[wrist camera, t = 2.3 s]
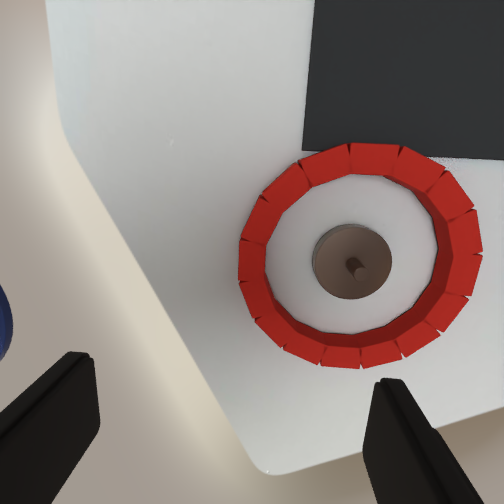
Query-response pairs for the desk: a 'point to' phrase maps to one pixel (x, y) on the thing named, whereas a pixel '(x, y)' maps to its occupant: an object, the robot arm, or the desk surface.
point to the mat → (408, 76)
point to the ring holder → (351, 261)
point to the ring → (431, 301)
